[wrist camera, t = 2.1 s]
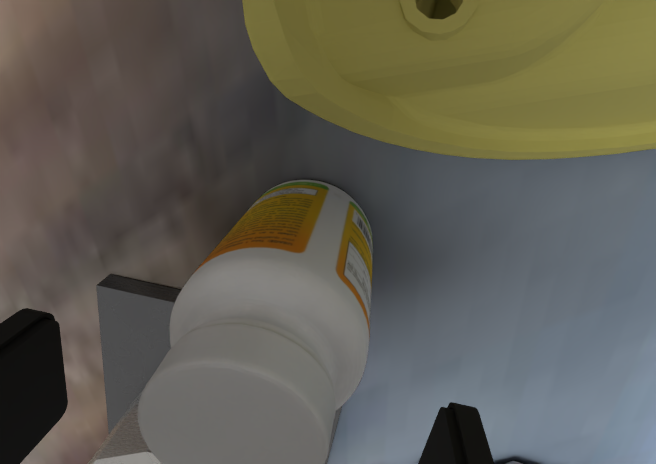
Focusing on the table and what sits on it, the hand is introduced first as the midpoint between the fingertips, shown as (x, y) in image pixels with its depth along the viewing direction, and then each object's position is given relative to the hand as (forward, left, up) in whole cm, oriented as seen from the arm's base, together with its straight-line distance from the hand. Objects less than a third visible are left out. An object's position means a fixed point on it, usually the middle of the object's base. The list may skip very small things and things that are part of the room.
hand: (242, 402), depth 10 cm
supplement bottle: (-1, 0, -8) cm, 8 cm away
